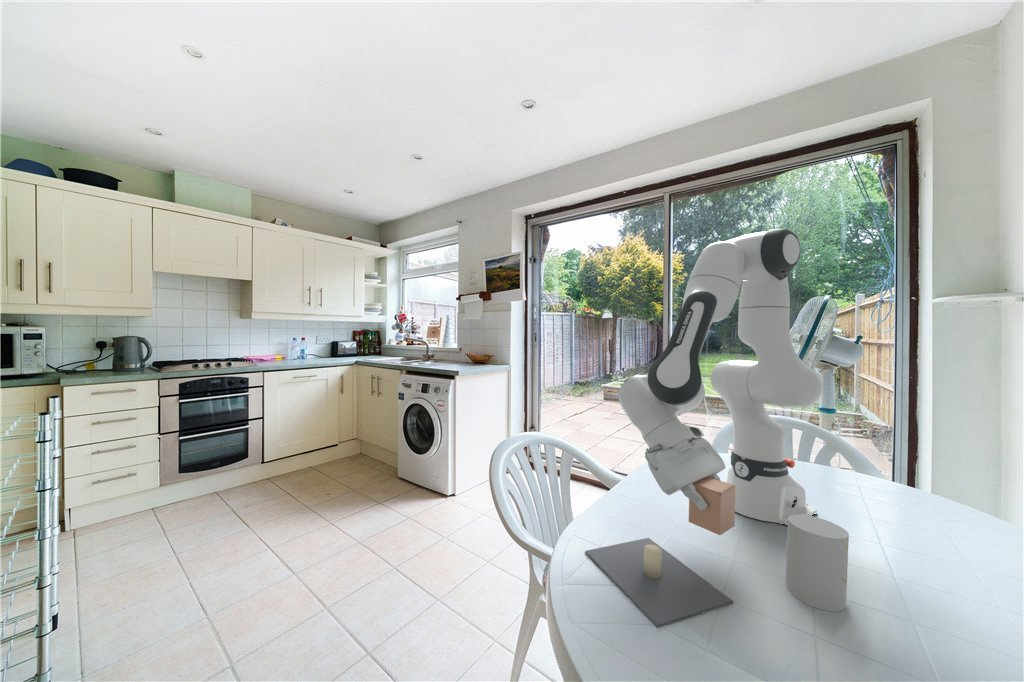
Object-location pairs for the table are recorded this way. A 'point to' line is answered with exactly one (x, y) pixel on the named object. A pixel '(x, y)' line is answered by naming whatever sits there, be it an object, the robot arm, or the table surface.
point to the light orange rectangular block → (714, 506)
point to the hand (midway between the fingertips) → (715, 503)
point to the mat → (657, 581)
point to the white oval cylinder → (817, 562)
